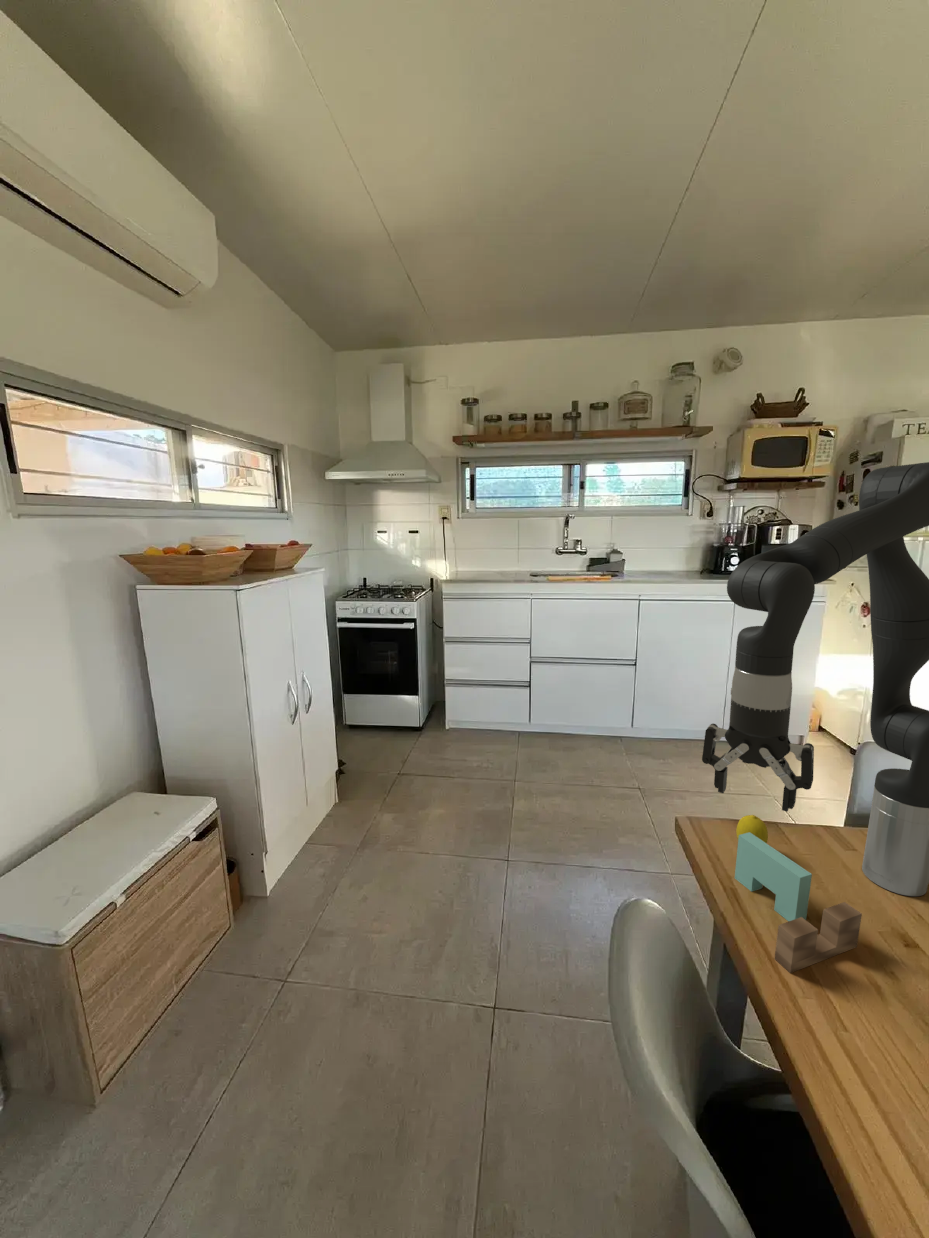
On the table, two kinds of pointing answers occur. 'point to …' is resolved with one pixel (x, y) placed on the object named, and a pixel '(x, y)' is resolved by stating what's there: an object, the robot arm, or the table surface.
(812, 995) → the table surface
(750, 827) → the lemon
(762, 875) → the teal arch block
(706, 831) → the table surface
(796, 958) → the brown wooden u-shaped block
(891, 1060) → the table surface
